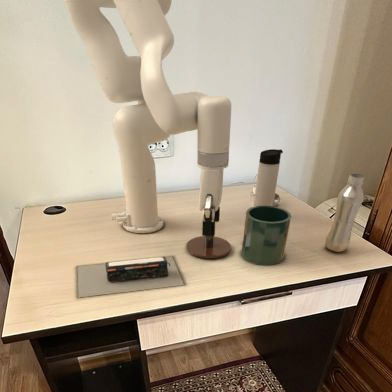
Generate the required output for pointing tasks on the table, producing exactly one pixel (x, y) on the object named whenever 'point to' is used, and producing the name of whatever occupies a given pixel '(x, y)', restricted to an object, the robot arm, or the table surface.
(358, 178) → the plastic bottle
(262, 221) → the green ceramic cup
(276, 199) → the woman figurine
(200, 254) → the lid
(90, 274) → the grey board with block
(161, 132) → the robot arm
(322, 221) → the table surface
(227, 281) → the table surface
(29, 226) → the table surface
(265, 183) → the travel mug
